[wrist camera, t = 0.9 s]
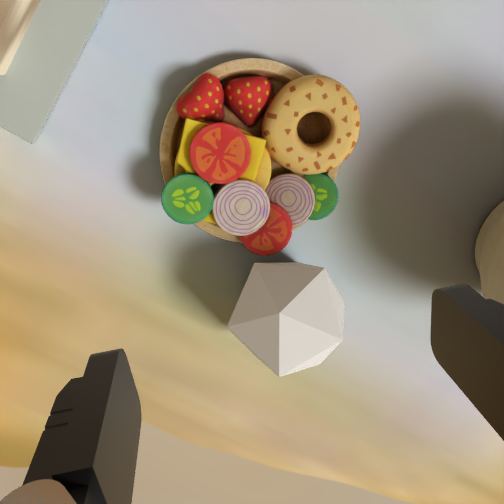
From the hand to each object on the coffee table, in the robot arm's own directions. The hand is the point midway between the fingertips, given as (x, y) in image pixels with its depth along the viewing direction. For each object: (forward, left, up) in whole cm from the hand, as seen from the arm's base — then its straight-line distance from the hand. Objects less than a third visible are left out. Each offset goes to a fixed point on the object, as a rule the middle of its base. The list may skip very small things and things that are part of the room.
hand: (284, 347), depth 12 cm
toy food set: (-2, +2, -23) cm, 24 cm away
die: (+6, +10, -23) cm, 26 cm away
